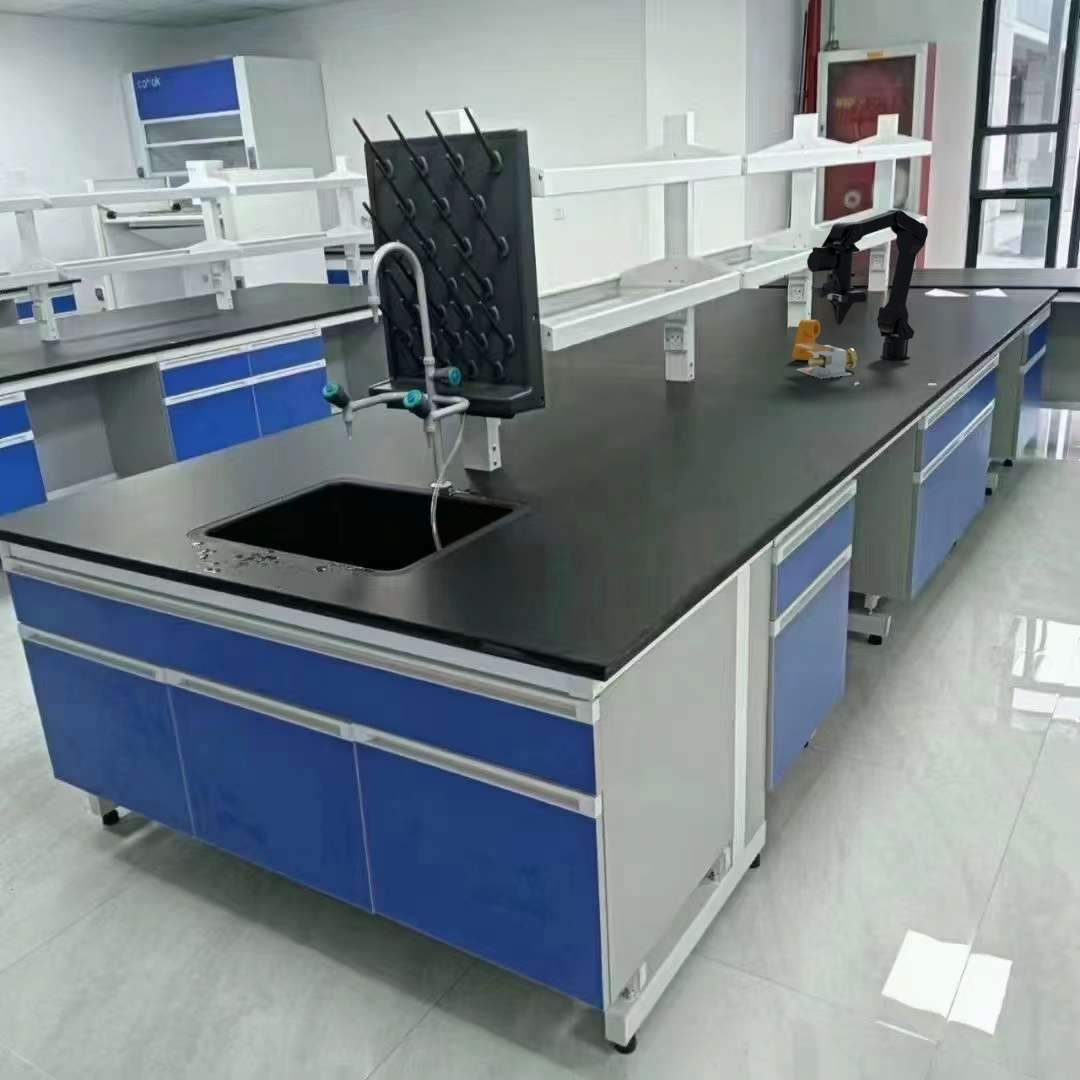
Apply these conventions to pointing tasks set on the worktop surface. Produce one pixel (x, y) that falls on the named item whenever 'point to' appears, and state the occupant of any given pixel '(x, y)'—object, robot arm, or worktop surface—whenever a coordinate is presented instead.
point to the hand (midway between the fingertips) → (838, 324)
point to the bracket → (806, 338)
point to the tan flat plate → (814, 347)
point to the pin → (850, 359)
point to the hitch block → (828, 364)
